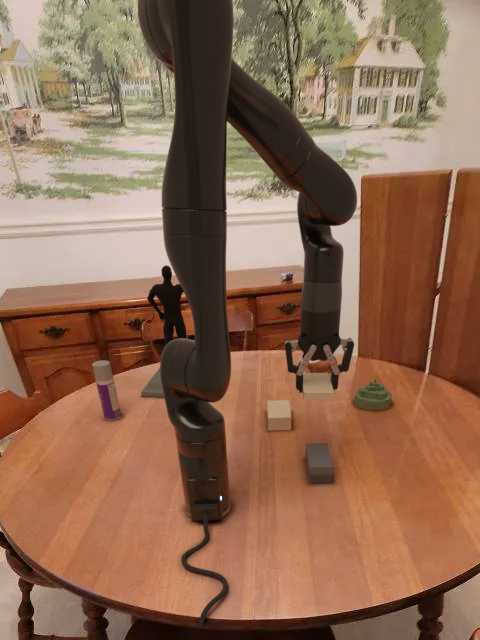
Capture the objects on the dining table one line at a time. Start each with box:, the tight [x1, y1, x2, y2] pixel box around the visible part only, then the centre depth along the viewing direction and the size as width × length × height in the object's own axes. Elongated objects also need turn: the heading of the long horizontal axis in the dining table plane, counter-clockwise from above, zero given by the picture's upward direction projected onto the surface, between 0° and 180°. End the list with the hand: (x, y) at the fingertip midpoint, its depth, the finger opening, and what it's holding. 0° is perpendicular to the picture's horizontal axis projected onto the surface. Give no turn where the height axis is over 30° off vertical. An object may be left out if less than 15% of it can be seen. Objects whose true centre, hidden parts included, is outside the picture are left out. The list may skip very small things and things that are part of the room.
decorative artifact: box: [354, 378, 393, 412], centre depth 137 cm, size 10×7×10 cm
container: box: [91, 359, 122, 422], centre depth 131 cm, size 5×5×15 cm
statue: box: [140, 264, 187, 398], centre depth 142 cm, size 20×19×36 cm
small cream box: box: [266, 399, 292, 432], centre depth 130 cm, size 11×6×4 cm, turn 0°
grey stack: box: [304, 442, 334, 485], centre depth 110 cm, size 11×5×4 cm, turn 0°
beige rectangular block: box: [302, 372, 335, 402], centre depth 102 cm, size 11×6×2 cm, turn 179°
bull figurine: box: [304, 356, 338, 376], centre depth 149 cm, size 4×13×8 cm, turn 115°
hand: (316, 390), depth 103 cm, fingers closed on beige rectangular block, 6 cm apart
